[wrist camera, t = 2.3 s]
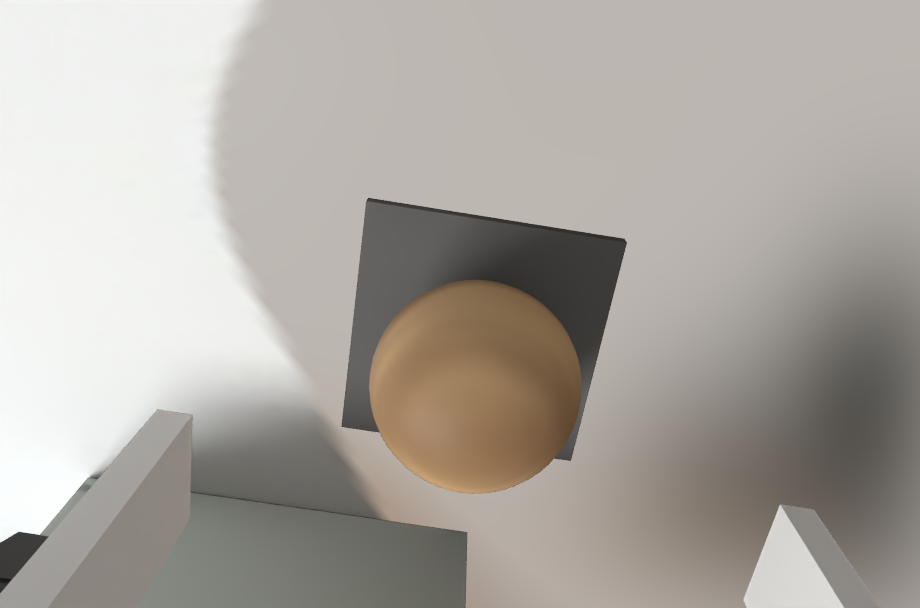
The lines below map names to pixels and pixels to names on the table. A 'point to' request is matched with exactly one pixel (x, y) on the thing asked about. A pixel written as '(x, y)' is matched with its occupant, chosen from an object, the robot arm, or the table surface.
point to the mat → (475, 258)
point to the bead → (475, 386)
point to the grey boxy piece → (301, 559)
